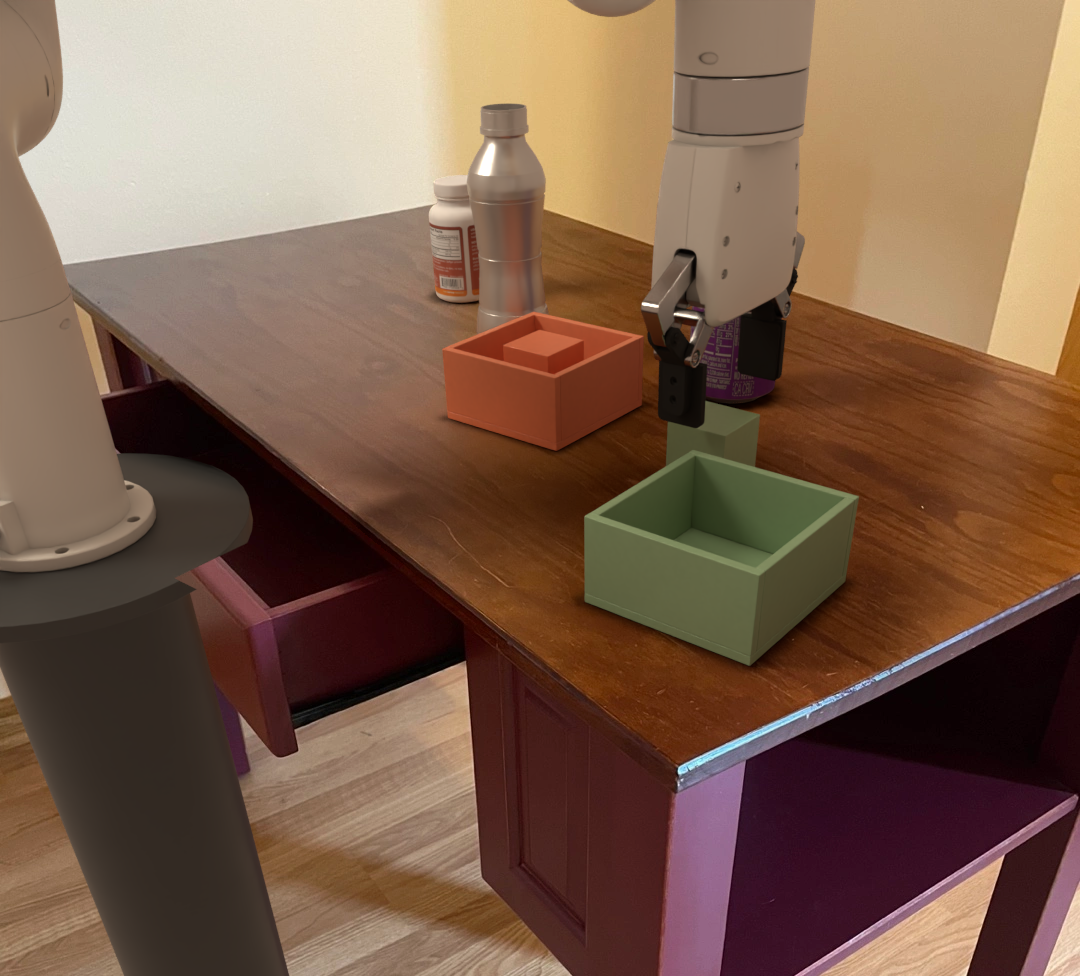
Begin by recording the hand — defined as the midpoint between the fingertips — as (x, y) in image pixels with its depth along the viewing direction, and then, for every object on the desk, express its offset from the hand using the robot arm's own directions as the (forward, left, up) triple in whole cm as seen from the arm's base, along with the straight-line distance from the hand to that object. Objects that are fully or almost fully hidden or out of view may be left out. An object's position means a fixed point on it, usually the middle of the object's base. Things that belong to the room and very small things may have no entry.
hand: (721, 398), depth 72 cm
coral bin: (+4, +18, -6) cm, 20 cm away
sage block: (0, 0, -6) cm, 6 cm away
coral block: (+4, +18, -6) cm, 19 cm away
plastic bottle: (+12, +28, -7) cm, 31 cm away
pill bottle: (+24, +45, -7) cm, 52 cm away
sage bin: (-12, -8, -6) cm, 16 cm away
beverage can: (+16, +8, -7) cm, 19 cm away
